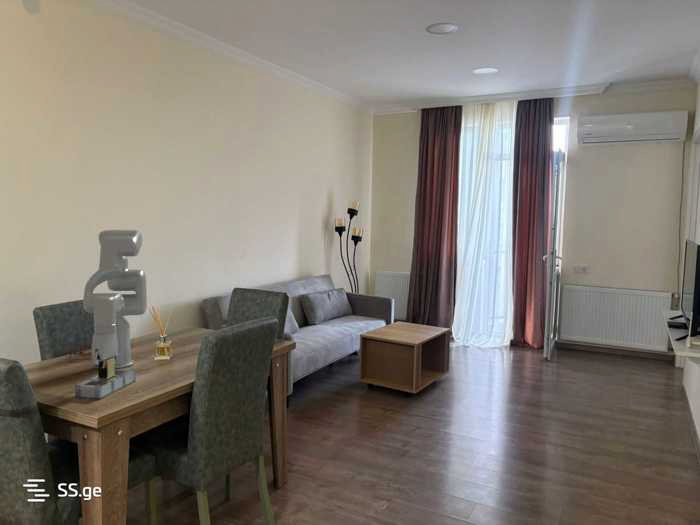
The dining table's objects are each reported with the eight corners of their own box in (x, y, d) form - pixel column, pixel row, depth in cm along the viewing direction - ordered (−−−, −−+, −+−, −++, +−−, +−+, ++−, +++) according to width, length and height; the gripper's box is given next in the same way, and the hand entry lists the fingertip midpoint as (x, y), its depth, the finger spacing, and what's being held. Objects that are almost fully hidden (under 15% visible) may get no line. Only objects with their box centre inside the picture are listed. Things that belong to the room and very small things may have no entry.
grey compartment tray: (75, 397, 191) (74, 385, 191) (113, 379, 213) (112, 368, 213) (99, 399, 190) (99, 387, 189) (135, 381, 211) (135, 370, 211)
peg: (98, 385, 200) (97, 359, 199) (105, 382, 204) (104, 356, 203) (108, 386, 199) (107, 360, 198) (114, 382, 203) (114, 357, 202)
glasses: (84, 352, 257) (83, 342, 257) (110, 352, 257) (110, 342, 256) (69, 359, 244) (68, 349, 244) (96, 360, 244) (96, 349, 243)
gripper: (110, 324, 208) (111, 369, 210) (81, 333, 192) (82, 382, 193) (127, 325, 207) (128, 370, 208) (99, 334, 191) (101, 383, 192)
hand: (106, 375), depth 201 cm, fingers closed on peg, 3 cm apart
